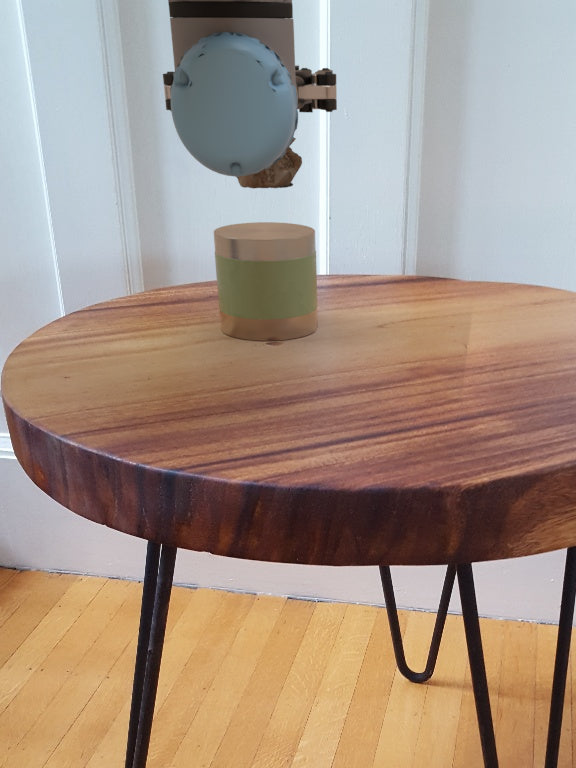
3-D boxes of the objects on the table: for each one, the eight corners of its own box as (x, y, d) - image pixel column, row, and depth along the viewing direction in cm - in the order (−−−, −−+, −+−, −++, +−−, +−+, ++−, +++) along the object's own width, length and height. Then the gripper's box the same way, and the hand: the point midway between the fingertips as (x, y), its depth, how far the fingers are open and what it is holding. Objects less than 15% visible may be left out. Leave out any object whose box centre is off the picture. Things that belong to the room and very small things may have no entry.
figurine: (226, 191, 85) (209, -15, 77) (219, 183, 90) (202, -12, 82) (307, 188, 87) (299, -15, 78) (296, 180, 92) (287, -12, 83)
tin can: (209, 338, 92) (201, 238, 87) (233, 314, 100) (227, 220, 95) (308, 343, 91) (305, 241, 86) (324, 317, 99) (323, 223, 94)
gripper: (122, 155, 71) (162, 128, 90) (375, 155, 72) (361, 129, 91) (107, 33, 67) (152, 33, 86) (376, 35, 67) (361, 34, 87)
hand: (260, 82), depth 88 cm, fingers closed on figurine, 6 cm apart
